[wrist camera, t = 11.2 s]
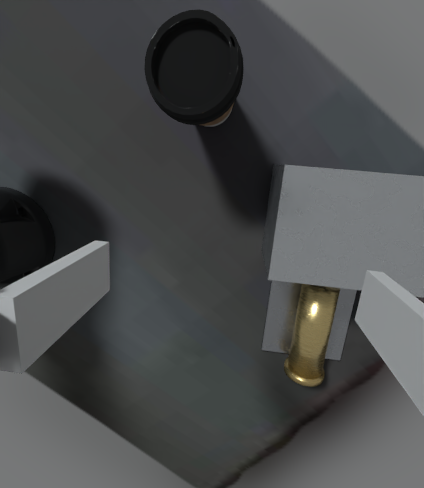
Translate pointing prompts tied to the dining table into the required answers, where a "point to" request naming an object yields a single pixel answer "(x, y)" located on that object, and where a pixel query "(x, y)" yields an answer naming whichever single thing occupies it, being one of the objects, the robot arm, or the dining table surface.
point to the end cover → (311, 334)
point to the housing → (338, 241)
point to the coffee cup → (194, 68)
